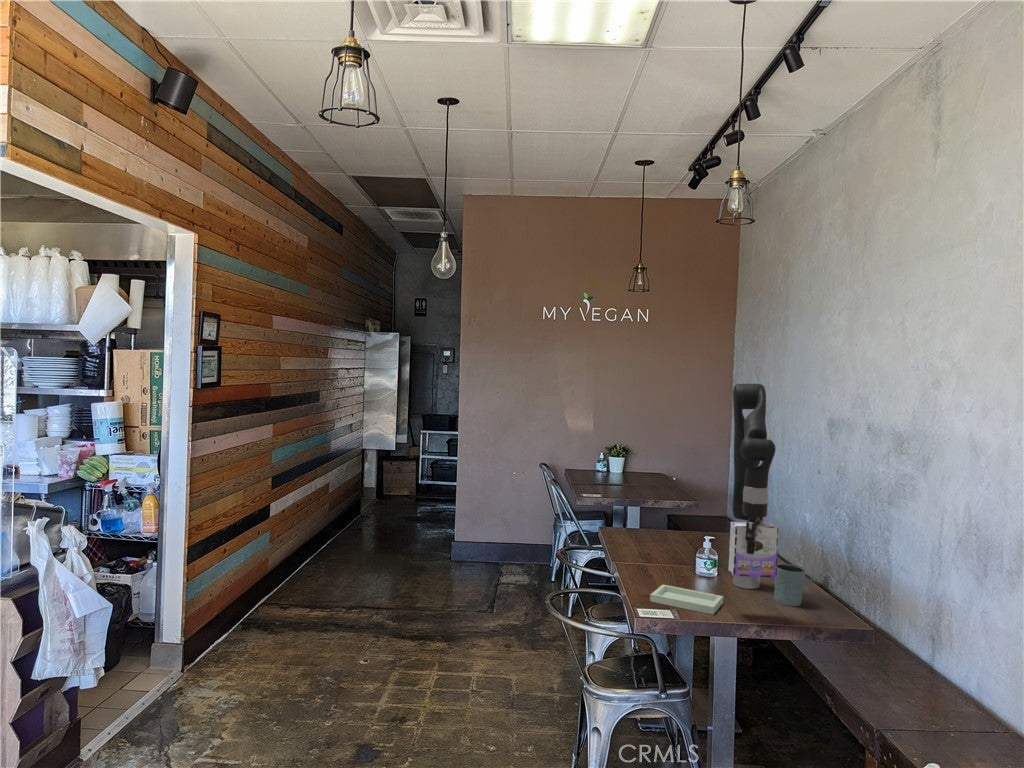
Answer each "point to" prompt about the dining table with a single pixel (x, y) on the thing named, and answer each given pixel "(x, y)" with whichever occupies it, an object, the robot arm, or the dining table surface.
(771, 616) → the dining table surface
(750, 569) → the candy box
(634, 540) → the dining table surface
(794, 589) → the green cup
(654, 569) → the dining table surface
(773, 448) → the robot arm
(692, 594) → the tray
